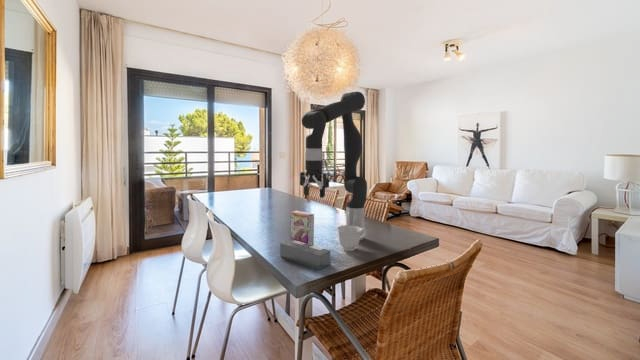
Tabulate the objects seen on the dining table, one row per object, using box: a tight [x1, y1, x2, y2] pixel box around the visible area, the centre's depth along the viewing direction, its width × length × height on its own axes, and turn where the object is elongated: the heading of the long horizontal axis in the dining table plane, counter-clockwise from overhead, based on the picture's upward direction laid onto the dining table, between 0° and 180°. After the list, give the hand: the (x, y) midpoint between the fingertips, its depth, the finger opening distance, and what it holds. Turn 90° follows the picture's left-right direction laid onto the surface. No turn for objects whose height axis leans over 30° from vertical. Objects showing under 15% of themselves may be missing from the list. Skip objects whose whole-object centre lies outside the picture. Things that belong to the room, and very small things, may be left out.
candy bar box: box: [290, 210, 315, 246], centre depth 136 cm, size 11×5×16 cm, turn 55°
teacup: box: [336, 224, 368, 252], centre depth 133 cm, size 12×15×10 cm
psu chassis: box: [279, 238, 331, 271], centre depth 119 cm, size 7×22×6 cm, turn 52°
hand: (314, 196), depth 122 cm, fingers open, 8 cm apart
